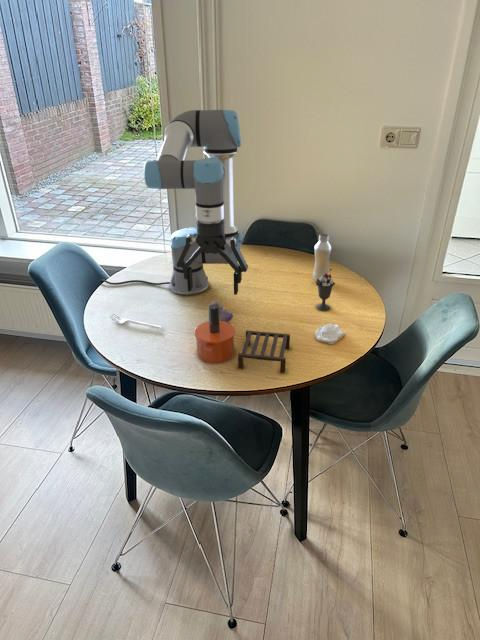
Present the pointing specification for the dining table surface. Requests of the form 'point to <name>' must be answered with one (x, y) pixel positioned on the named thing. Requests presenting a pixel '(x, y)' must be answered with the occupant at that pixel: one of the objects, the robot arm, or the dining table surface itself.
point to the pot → (215, 351)
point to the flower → (224, 314)
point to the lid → (214, 328)
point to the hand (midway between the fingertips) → (213, 290)
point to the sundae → (324, 290)
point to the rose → (329, 333)
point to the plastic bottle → (321, 257)
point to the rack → (262, 355)
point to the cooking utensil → (131, 321)
